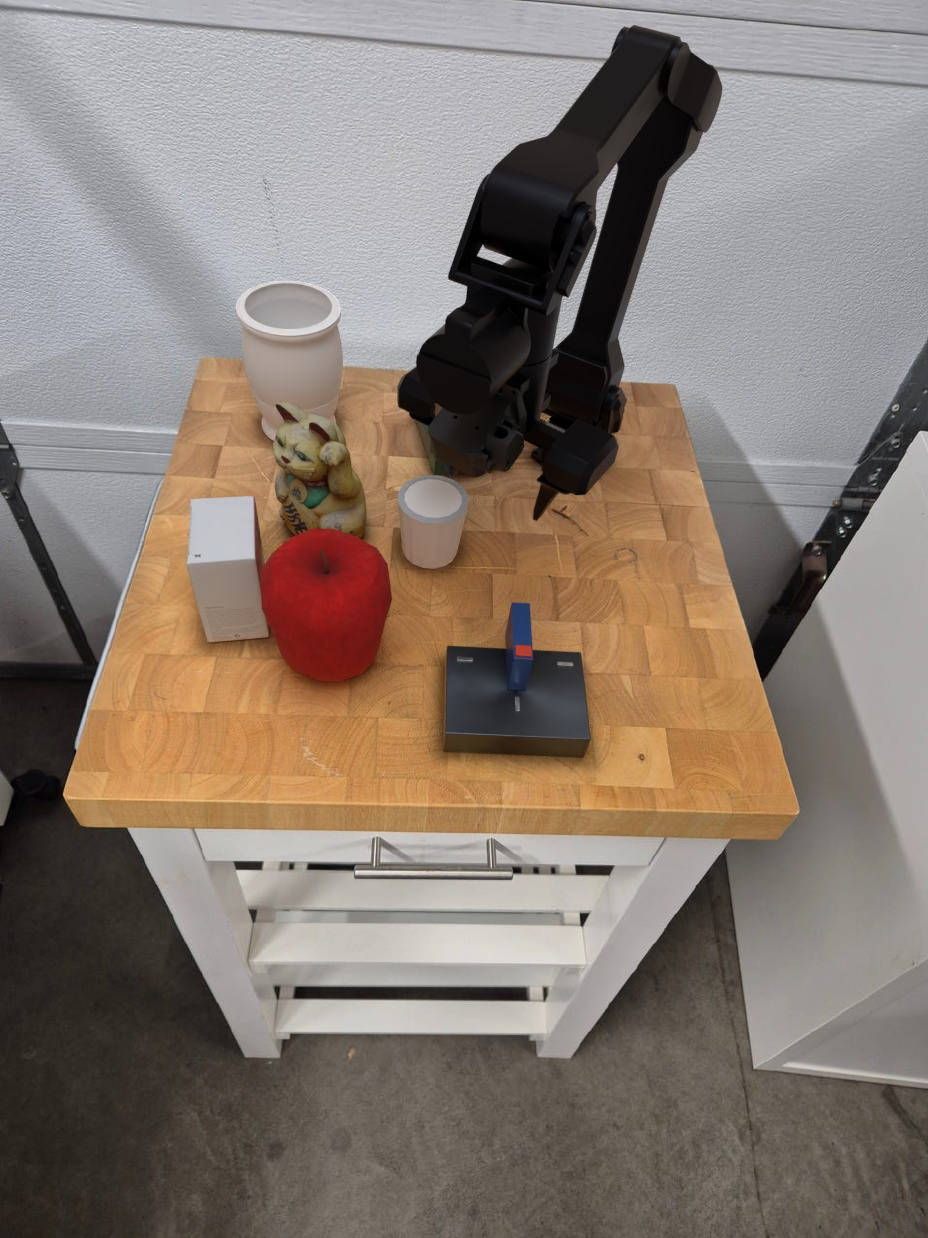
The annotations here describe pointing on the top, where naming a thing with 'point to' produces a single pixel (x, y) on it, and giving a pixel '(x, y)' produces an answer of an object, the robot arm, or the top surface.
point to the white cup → (431, 519)
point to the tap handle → (518, 646)
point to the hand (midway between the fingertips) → (494, 495)
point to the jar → (291, 349)
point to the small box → (227, 567)
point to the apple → (326, 602)
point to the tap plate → (514, 704)
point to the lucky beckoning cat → (316, 475)
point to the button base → (432, 452)
